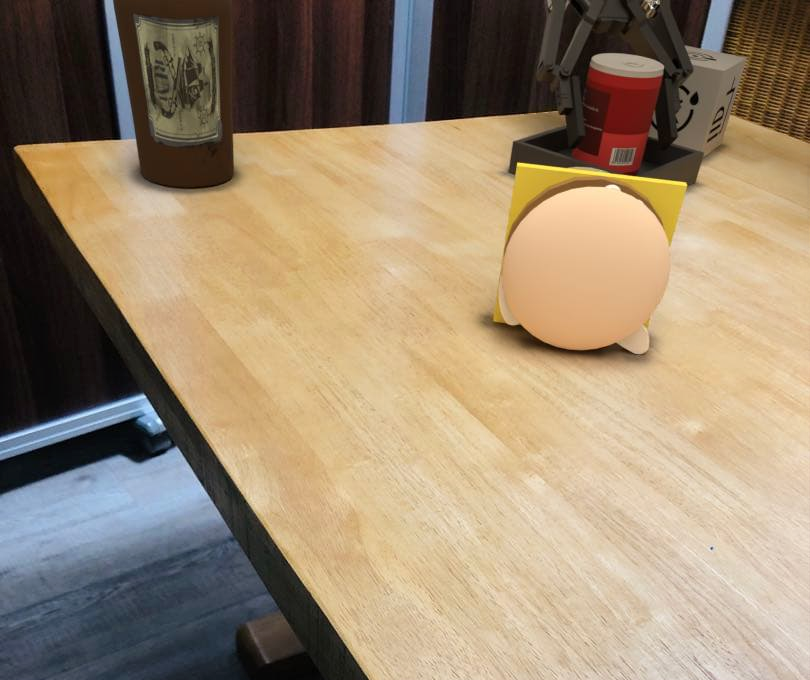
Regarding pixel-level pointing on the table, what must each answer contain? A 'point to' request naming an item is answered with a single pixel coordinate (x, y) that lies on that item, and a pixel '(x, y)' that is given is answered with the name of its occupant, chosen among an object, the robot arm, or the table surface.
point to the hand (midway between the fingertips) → (623, 143)
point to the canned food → (618, 110)
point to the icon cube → (706, 99)
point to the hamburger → (586, 255)
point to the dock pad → (655, 164)
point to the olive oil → (180, 88)
